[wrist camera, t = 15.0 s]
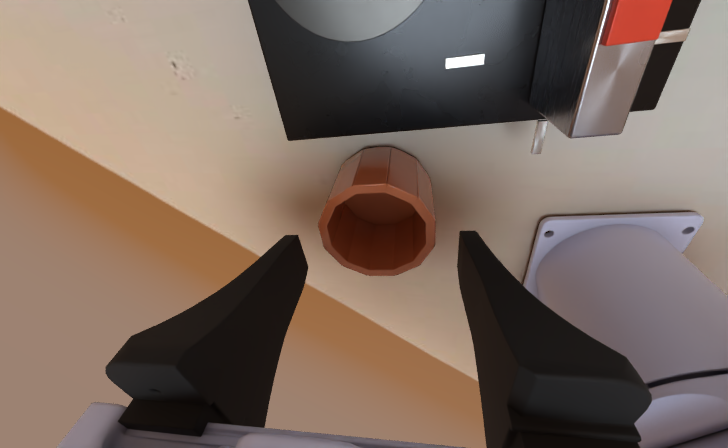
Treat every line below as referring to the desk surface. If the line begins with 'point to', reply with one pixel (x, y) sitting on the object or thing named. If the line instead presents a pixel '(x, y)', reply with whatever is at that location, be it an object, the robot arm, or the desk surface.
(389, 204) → the small cup
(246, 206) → the desk surface
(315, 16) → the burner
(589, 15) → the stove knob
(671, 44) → the stove
